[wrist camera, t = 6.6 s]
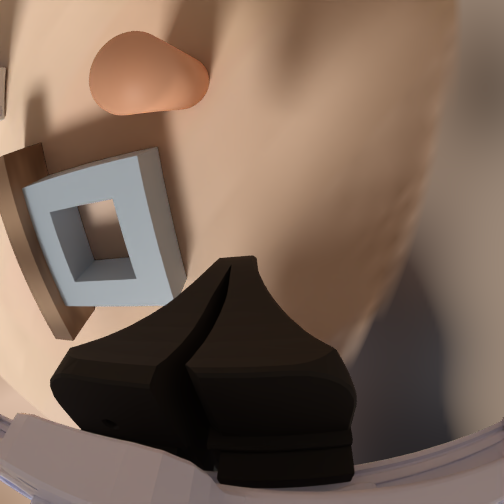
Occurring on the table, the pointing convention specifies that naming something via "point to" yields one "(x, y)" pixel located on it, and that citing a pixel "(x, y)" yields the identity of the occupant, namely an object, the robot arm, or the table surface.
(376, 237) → the table surface
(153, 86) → the dowel
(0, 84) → the medicine box
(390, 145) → the table surface
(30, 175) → the backstop wall
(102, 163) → the block
